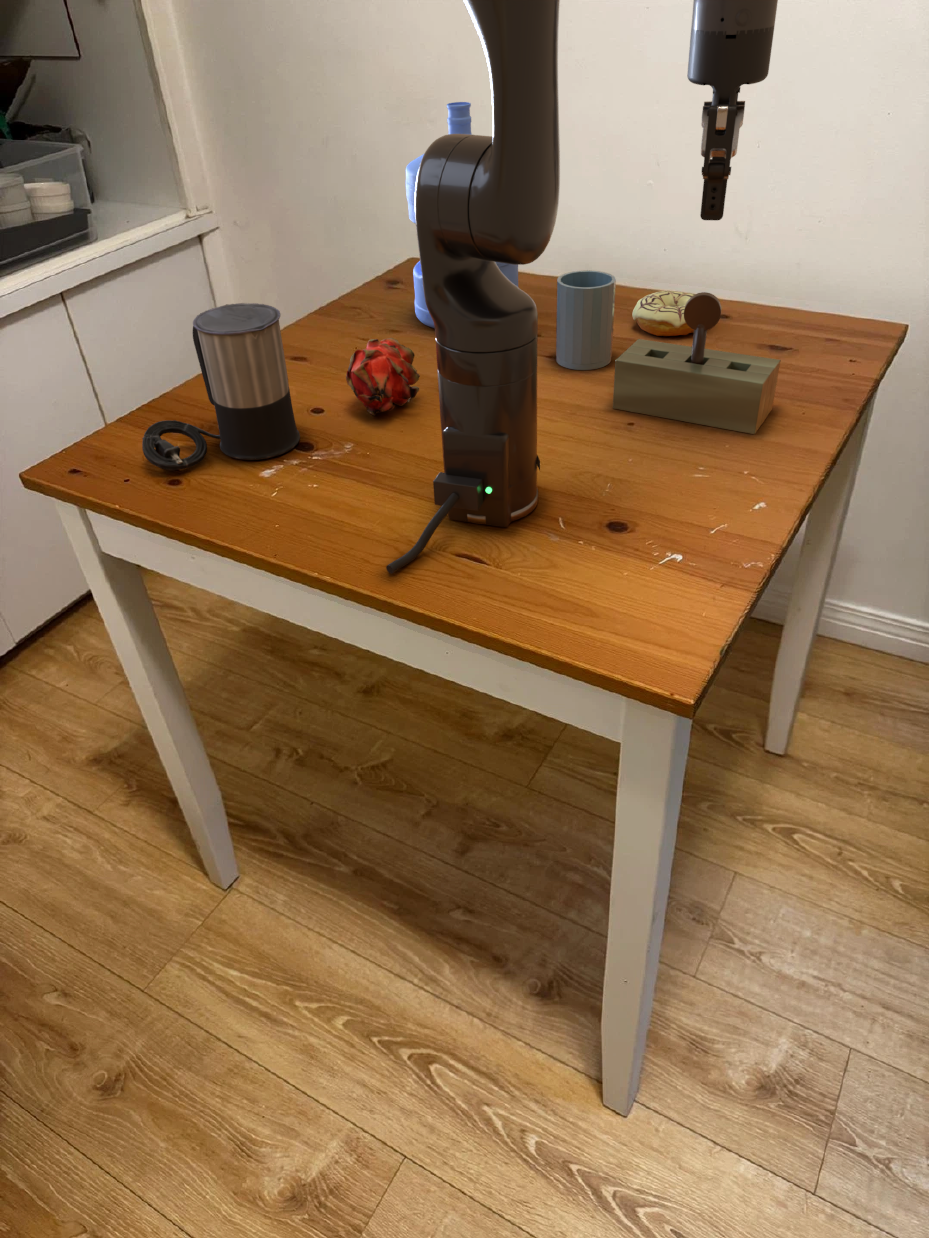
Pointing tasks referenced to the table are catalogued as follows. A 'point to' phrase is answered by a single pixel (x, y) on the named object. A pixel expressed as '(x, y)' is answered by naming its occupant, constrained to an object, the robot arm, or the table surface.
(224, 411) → the milk frother
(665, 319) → the decorated donut
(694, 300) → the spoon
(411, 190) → the water jug
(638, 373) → the stand
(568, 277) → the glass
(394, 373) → the dragon fruit
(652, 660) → the table surface
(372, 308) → the table surface
